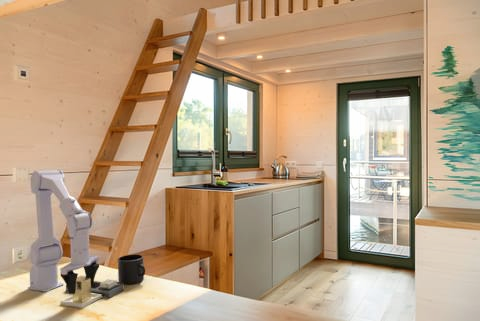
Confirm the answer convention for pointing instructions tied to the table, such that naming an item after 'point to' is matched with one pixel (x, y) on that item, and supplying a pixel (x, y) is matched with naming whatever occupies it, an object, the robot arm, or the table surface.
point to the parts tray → (70, 302)
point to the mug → (130, 269)
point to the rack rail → (105, 288)
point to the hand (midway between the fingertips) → (81, 289)
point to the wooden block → (82, 290)
